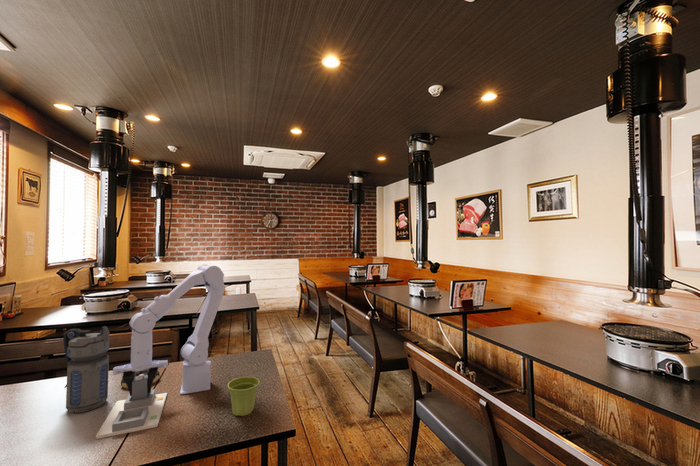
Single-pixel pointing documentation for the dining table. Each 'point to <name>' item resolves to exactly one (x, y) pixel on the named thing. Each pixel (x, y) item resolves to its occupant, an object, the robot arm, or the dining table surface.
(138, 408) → the panel
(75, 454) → the dining table surface
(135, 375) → the donut
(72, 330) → the beverage bottle
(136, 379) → the plug
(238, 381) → the plant pot
